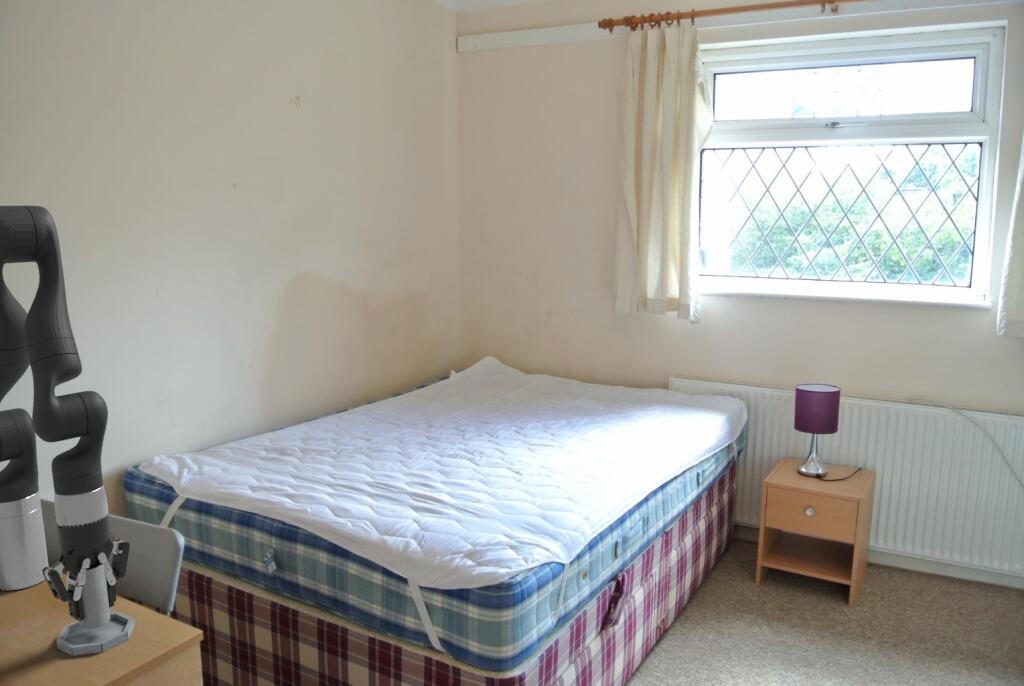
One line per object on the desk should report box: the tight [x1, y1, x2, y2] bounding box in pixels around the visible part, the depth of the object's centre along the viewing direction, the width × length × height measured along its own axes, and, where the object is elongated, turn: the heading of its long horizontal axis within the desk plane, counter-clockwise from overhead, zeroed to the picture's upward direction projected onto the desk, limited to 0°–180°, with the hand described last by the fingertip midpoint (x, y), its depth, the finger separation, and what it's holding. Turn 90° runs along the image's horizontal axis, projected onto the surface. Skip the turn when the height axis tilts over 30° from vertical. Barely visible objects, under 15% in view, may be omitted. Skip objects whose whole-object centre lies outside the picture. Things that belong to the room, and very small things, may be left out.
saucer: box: [55, 611, 135, 657], centre depth 138 cm, size 11×11×1 cm
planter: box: [74, 563, 111, 629], centre depth 137 cm, size 4×4×10 cm
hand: (93, 611), depth 137 cm, fingers closed on planter, 4 cm apart
